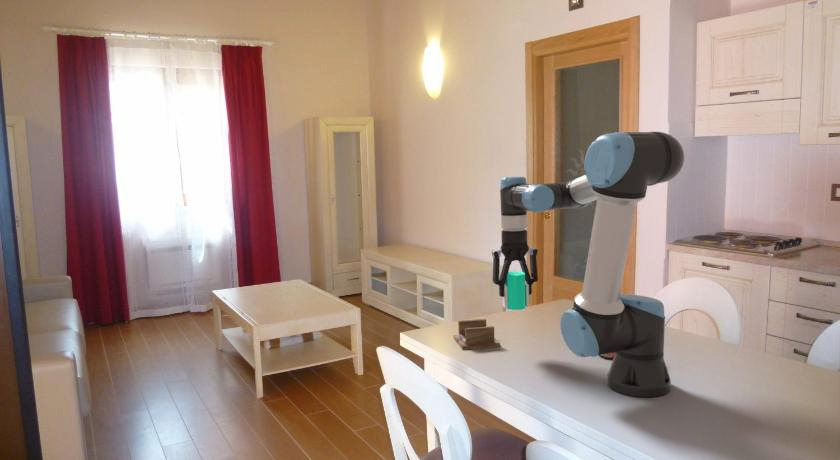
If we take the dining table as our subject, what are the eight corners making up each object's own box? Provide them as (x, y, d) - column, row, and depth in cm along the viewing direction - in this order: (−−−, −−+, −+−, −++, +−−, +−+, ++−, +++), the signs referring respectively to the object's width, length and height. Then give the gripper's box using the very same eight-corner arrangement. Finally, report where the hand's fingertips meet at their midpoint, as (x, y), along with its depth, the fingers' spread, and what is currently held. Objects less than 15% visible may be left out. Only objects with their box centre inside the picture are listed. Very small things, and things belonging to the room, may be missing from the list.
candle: (502, 309, 184) (501, 269, 182) (509, 304, 189) (508, 265, 188) (522, 310, 181) (521, 270, 180) (528, 306, 186) (527, 266, 185)
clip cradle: (500, 346, 192) (499, 327, 192) (462, 349, 190) (462, 330, 190) (489, 335, 204) (488, 317, 203) (453, 338, 202) (453, 320, 201)
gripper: (540, 226, 188) (541, 301, 190) (479, 229, 184) (481, 305, 187) (549, 228, 180) (550, 306, 183) (486, 232, 177) (488, 311, 180)
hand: (515, 306), depth 185 cm, fingers closed on candle, 6 cm apart
